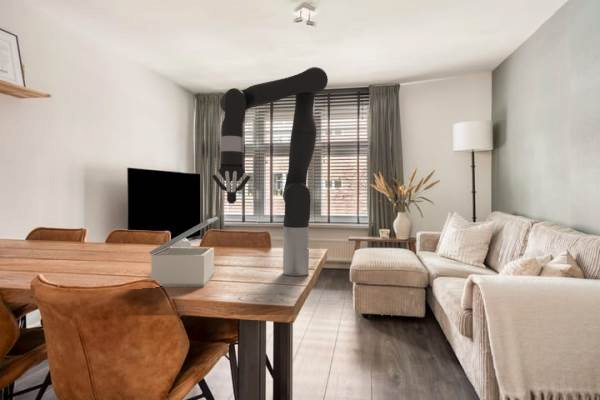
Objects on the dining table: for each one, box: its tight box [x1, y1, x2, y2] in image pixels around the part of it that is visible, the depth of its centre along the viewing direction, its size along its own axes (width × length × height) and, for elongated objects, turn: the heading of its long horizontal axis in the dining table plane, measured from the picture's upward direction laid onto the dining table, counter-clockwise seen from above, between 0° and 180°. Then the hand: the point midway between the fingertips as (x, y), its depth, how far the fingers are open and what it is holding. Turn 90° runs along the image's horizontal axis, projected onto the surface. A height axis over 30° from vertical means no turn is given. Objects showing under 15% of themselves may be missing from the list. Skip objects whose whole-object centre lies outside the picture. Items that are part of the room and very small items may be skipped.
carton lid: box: [149, 216, 219, 255], centre depth 117 cm, size 20×17×1 cm
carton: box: [150, 247, 215, 288], centre depth 118 cm, size 16×16×10 cm
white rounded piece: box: [171, 237, 192, 248], centre depth 134 cm, size 10×4×12 cm, turn 39°
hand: (231, 203), depth 118 cm, fingers closed
